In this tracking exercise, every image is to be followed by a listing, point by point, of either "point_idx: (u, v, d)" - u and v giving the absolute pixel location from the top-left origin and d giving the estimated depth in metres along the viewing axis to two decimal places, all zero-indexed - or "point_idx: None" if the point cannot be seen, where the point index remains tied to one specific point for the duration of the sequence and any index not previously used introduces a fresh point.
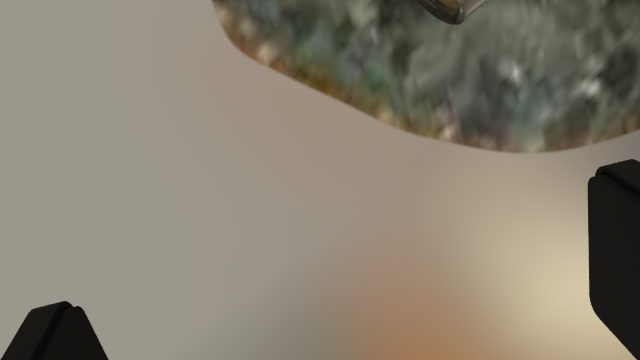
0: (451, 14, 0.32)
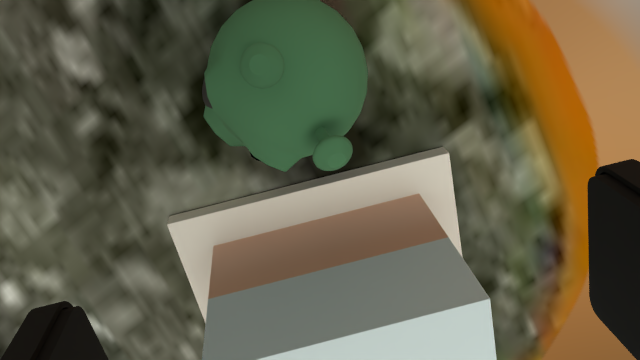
0: None
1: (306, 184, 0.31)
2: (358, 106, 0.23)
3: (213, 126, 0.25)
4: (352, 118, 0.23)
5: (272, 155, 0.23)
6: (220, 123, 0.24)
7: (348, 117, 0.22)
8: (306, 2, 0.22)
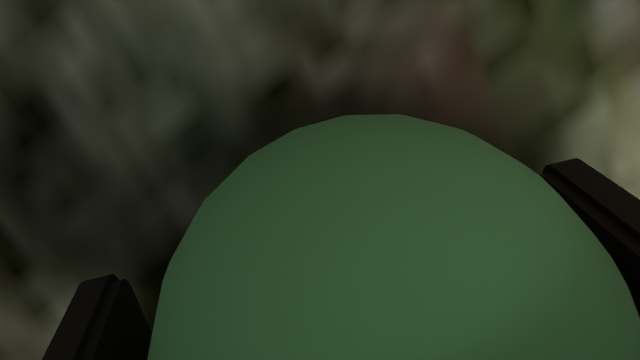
0: None
1: None
2: None
3: None
4: None
5: None
6: None
7: None
8: (482, 185, 0.06)
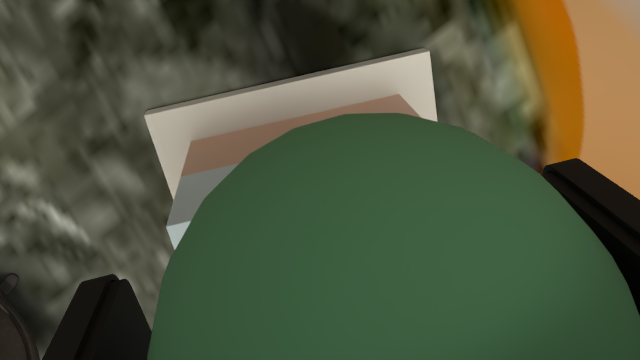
0: None
1: (285, 80, 0.31)
2: None
3: None
4: None
5: None
6: None
7: None
8: (482, 182, 0.06)
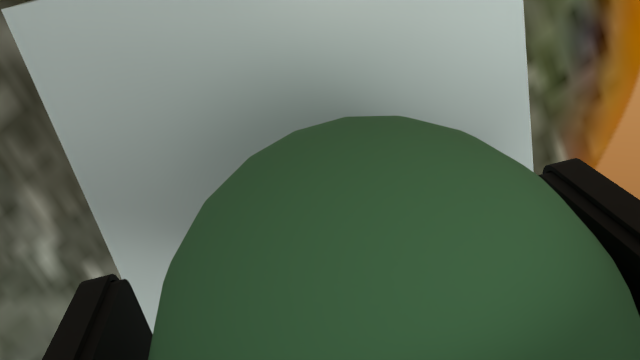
0: None
1: None
2: None
3: None
4: None
5: None
6: None
7: None
8: (483, 186, 0.06)
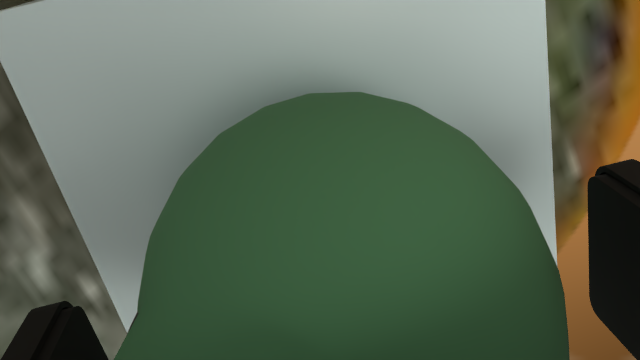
0: None
1: None
2: None
3: None
4: None
5: None
6: None
7: None
8: (412, 142, 0.08)
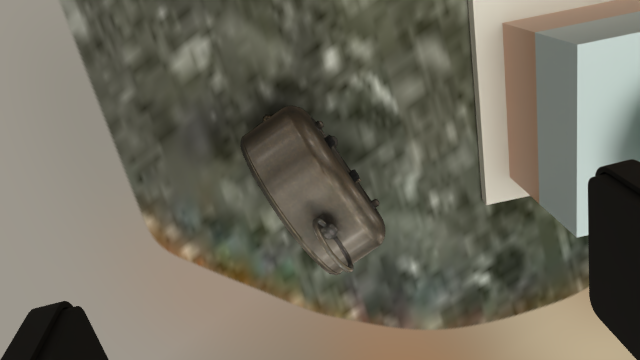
0: None
1: None
2: None
3: None
4: None
5: None
6: None
7: None
8: None
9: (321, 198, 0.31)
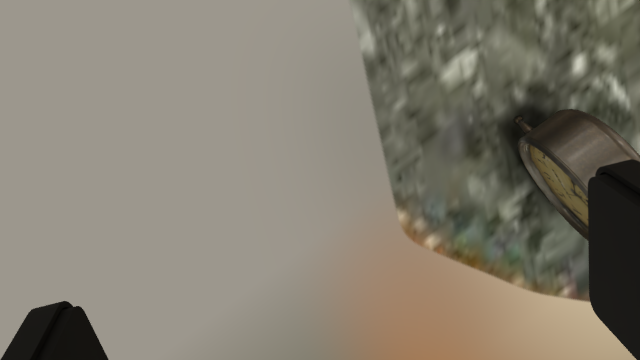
0: None
1: None
2: None
3: None
4: None
5: None
6: None
7: None
8: None
9: None
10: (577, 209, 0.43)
